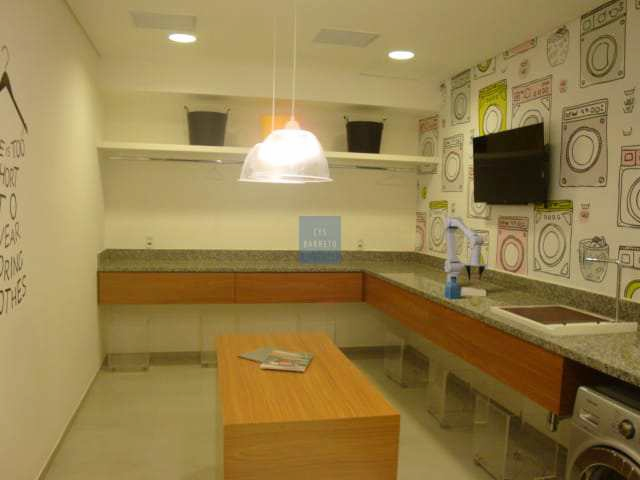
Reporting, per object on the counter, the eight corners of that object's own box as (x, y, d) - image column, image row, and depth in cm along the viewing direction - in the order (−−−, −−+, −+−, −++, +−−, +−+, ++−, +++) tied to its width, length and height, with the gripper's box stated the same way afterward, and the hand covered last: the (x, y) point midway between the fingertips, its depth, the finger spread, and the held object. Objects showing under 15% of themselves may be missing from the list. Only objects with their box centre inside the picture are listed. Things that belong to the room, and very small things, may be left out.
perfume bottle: (450, 299, 284) (451, 277, 283) (444, 297, 290) (445, 275, 289) (460, 299, 286) (461, 277, 285) (454, 296, 292) (455, 275, 291)
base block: (461, 292, 311) (461, 287, 311) (482, 293, 309) (482, 288, 309) (464, 295, 299) (464, 290, 299) (485, 296, 297) (486, 291, 297)
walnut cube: (469, 281, 306) (469, 273, 306) (477, 281, 305) (478, 273, 305) (470, 282, 301) (470, 274, 301) (479, 283, 300) (479, 274, 300)
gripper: (463, 256, 299) (462, 279, 300) (489, 257, 297) (488, 281, 298) (461, 255, 306) (460, 277, 307) (487, 256, 304) (486, 279, 305)
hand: (474, 279), depth 303 cm, fingers closed on walnut cube, 5 cm apart
